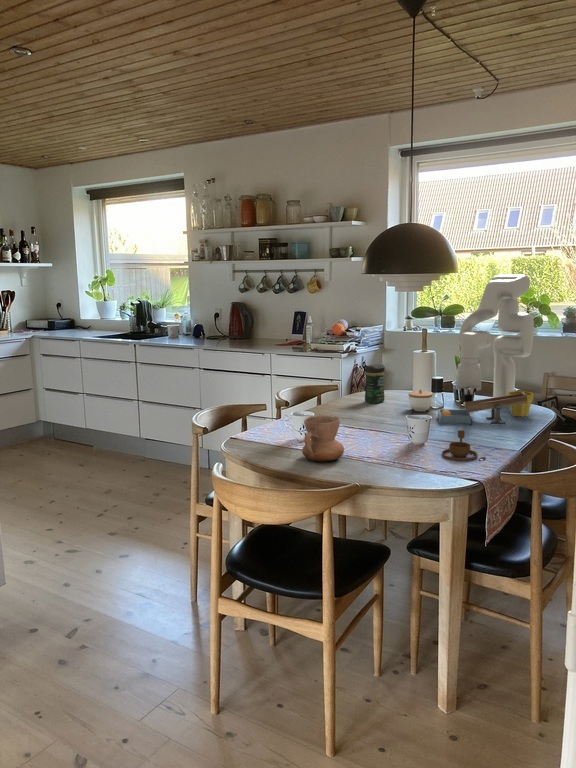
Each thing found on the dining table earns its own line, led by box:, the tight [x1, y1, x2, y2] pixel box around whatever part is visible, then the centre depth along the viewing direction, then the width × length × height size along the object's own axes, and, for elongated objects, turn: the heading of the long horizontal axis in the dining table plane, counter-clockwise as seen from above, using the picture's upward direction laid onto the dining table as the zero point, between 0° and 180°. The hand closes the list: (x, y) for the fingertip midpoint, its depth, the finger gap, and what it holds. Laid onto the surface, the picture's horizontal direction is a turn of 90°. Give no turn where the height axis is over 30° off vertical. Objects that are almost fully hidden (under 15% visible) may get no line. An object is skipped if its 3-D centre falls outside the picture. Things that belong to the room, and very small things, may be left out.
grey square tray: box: [437, 408, 472, 425], centre depth 264 cm, size 12×12×4 cm
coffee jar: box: [364, 363, 386, 404], centre depth 303 cm, size 10×8×19 cm
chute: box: [462, 392, 528, 414], centre depth 265 cm, size 15×24×4 cm, turn 81°
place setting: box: [441, 429, 487, 462], centre depth 218 cm, size 18×20×6 cm
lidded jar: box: [408, 389, 434, 412], centre depth 285 cm, size 11×11×9 cm
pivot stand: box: [485, 405, 506, 425], centre depth 261 cm, size 11×6×8 cm, turn 171°
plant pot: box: [508, 390, 534, 418], centre depth 271 cm, size 10×10×10 cm
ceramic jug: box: [301, 414, 345, 463], centre depth 215 cm, size 18×14×14 cm
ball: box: [441, 410, 451, 416], centre depth 265 cm, size 4×4×4 cm
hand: (467, 403), depth 271 cm, fingers closed
